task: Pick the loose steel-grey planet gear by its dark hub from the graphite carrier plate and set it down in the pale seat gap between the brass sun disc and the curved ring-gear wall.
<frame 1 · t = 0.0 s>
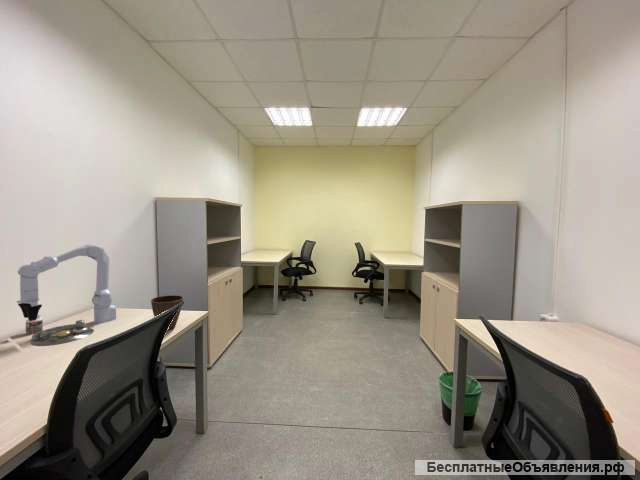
hand: (30, 318, 126), 10 cm above the table, fingers open, 7 cm apart
plant pot: (167, 328, 144), on the table
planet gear: (80, 331, 134), point 1 cm above the table, touching carrier
carrier: (64, 338, 129), on the table
pill bottle: (34, 334, 133), on the table
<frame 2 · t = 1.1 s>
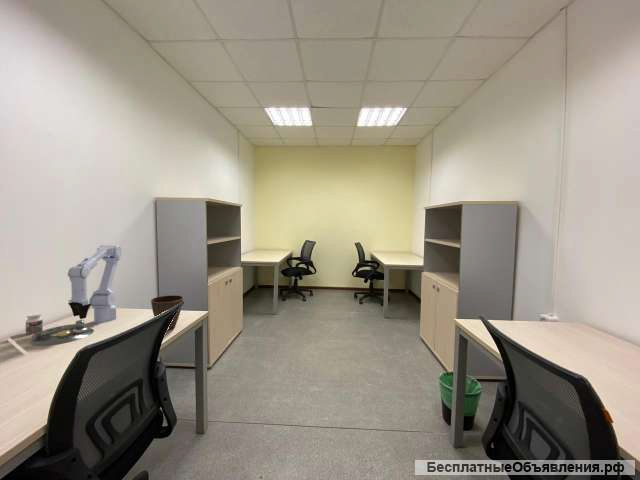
hand: (79, 317, 134), 9 cm above the table, fingers open, 7 cm apart
nothing on the table moved.
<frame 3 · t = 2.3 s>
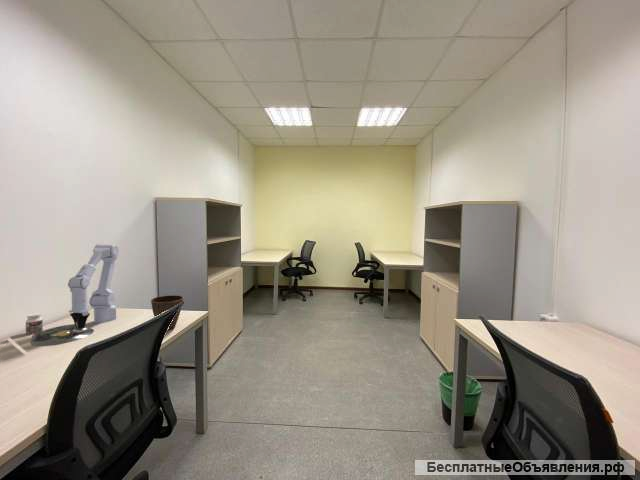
hand: (80, 327, 134), 3 cm above the table, fingers closed on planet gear, 3 cm apart
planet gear: (80, 331, 134), point 1 cm above the table, touching carrier, gripper
everything else where it was.
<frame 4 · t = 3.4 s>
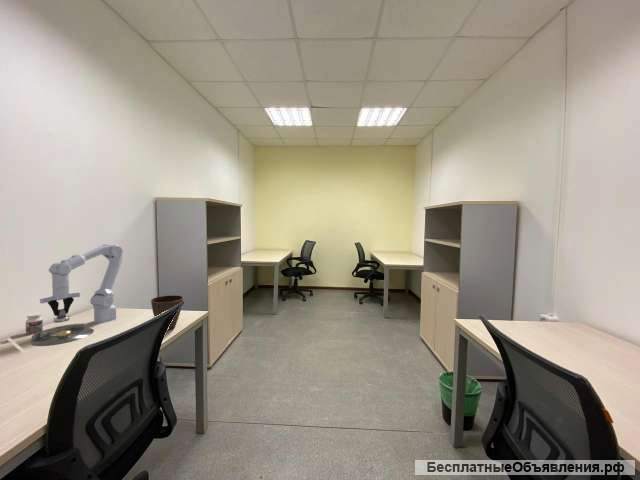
hand: (61, 314, 132), 10 cm above the table, fingers closed on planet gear, 3 cm apart
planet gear: (61, 320, 132), point 7 cm above the table, touching gripper
everything else where it was.
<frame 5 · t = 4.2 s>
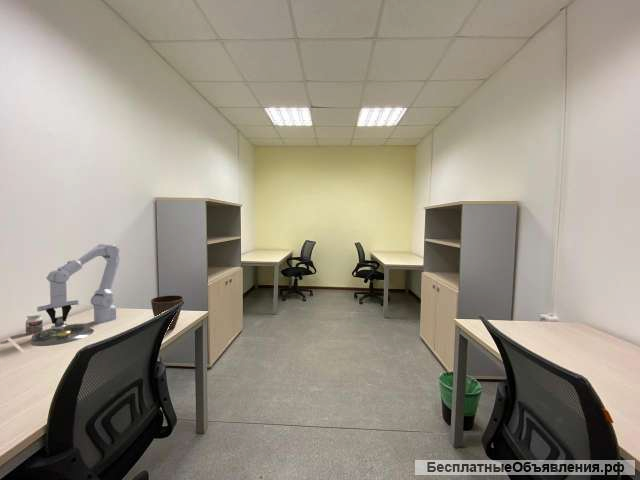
hand: (59, 322, 132), 7 cm above the table, fingers closed on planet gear, 3 cm apart
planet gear: (59, 328, 132), point 3 cm above the table, touching gripper
everything else where it was.
when the fingers open (4 cm above the table, at t = 4.9 s): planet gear stays where it is, resting on carrier.
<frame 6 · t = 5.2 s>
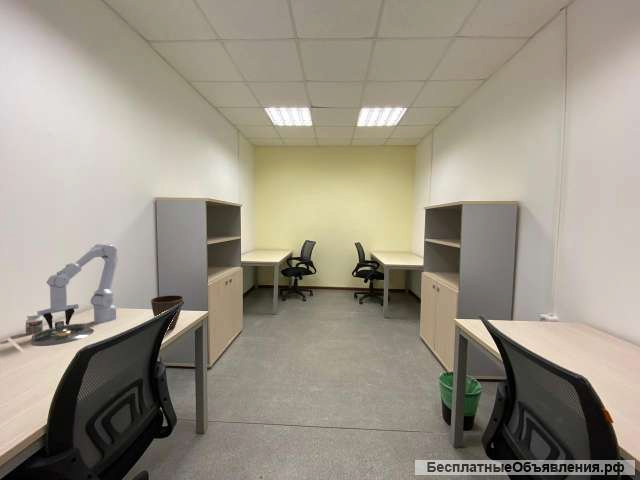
hand: (59, 326, 132), 5 cm above the table, fingers open, 5 cm apart
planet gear: (59, 333, 132), point 1 cm above the table, touching carrier
everything else where it was.
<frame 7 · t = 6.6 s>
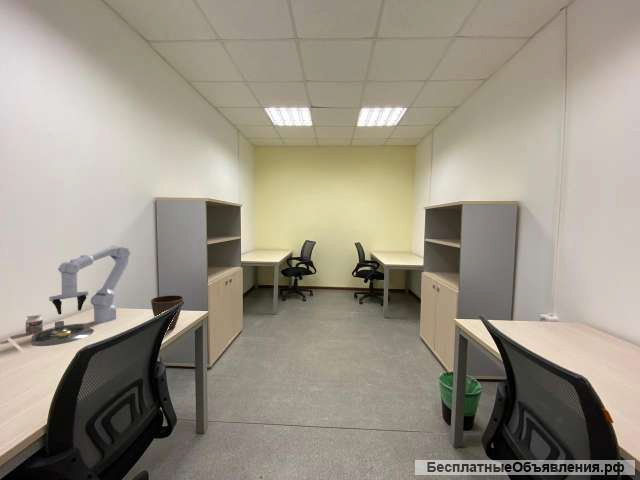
hand: (69, 312, 136), 10 cm above the table, fingers open, 7 cm apart
nothing on the table moved.
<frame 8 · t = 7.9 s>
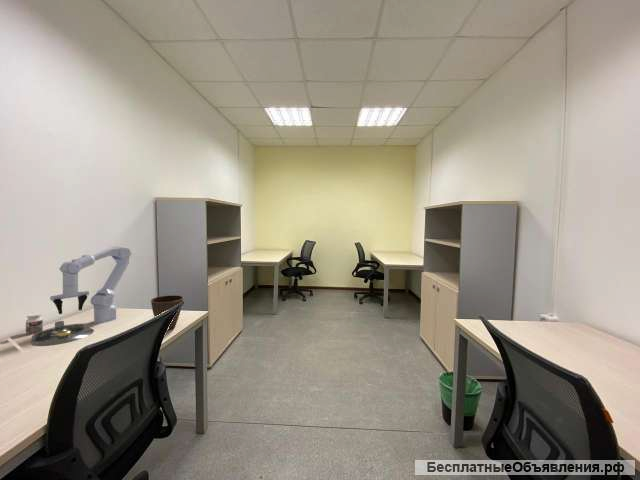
hand: (70, 311, 136), 10 cm above the table, fingers open, 7 cm apart
nothing on the table moved.
at the end: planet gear 0.3 cm from the target spot on the carrier, point 1.1 cm above the carrier's base; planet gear tilted 0°; the gripper is holding nothing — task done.
